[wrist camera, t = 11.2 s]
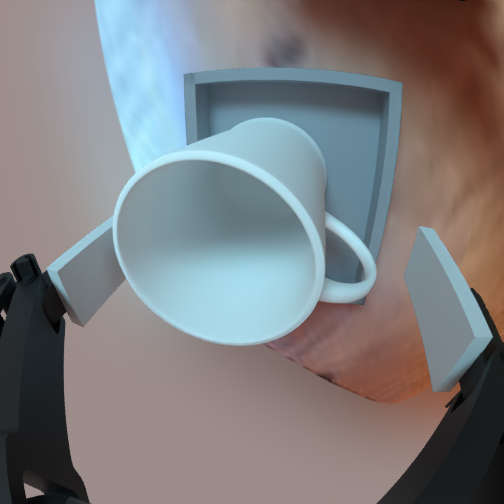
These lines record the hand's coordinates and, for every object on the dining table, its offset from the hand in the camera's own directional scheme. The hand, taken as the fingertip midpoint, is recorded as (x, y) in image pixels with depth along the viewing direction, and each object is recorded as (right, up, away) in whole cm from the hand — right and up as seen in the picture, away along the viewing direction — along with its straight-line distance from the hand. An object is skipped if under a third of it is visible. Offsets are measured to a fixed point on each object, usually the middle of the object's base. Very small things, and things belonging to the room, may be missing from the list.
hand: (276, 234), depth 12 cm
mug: (+2, +4, +7) cm, 8 cm away
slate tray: (+2, +4, +8) cm, 9 cm away
